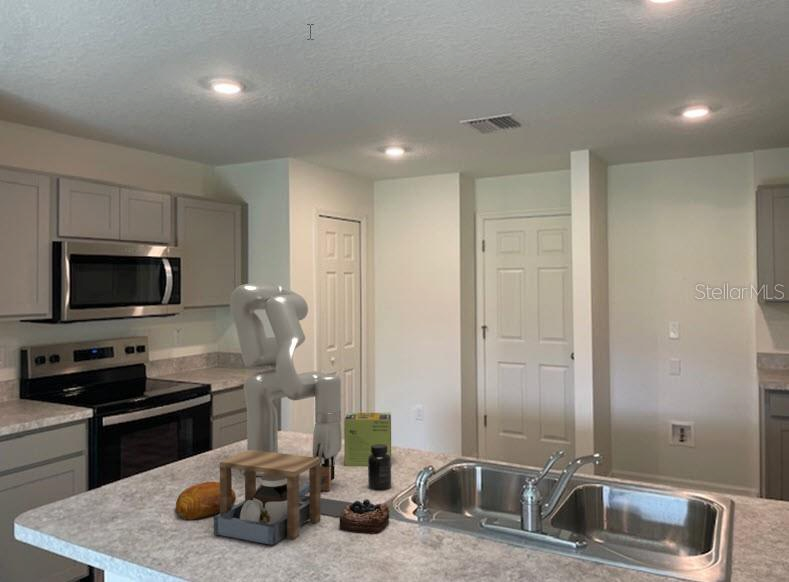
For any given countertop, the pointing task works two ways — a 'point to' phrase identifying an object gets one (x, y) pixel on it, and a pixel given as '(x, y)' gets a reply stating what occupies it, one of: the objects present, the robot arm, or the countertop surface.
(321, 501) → the pit mat
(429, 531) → the countertop surface
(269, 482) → the spread jar
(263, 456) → the walnut table
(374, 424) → the protein box
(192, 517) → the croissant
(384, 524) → the pastry
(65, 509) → the countertop surface
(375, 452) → the supplement bottle
